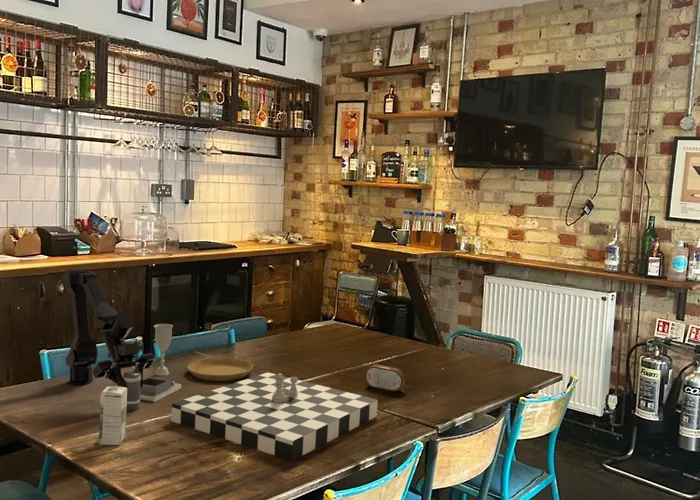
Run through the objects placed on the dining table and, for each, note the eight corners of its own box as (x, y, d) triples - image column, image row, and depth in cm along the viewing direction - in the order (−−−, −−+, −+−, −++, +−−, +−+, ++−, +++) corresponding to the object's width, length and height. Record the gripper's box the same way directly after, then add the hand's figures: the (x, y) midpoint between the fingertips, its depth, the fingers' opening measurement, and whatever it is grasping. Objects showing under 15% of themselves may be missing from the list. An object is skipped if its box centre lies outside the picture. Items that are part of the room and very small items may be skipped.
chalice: (165, 377, 240) (167, 328, 238) (148, 375, 241) (150, 326, 240) (175, 372, 247) (176, 324, 246) (158, 370, 249) (159, 323, 247)
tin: (404, 391, 240) (406, 369, 239) (401, 393, 237) (403, 370, 236) (367, 384, 246) (368, 362, 245) (363, 386, 243) (364, 364, 242)
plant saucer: (174, 376, 242) (174, 368, 242) (211, 362, 265) (211, 354, 264) (230, 387, 233) (230, 378, 233) (264, 371, 256) (264, 363, 255)
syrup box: (104, 437, 182) (105, 385, 181) (126, 437, 183) (127, 386, 181) (98, 445, 176) (99, 392, 175) (120, 445, 177) (122, 393, 176)
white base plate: (125, 396, 216) (125, 384, 216) (153, 383, 232) (153, 372, 231) (154, 401, 213) (154, 389, 213) (181, 388, 228) (181, 377, 228)
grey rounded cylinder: (119, 409, 204) (120, 375, 203) (127, 404, 209) (128, 370, 208) (135, 411, 203) (136, 376, 202) (142, 406, 208) (143, 372, 207)
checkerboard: (291, 462, 174) (294, 408, 172) (171, 422, 197) (172, 374, 196) (376, 417, 212) (379, 372, 210) (267, 388, 235) (268, 348, 234)
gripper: (98, 336, 200) (115, 380, 193) (153, 328, 213) (171, 369, 207) (85, 356, 206) (101, 399, 199) (139, 347, 219) (156, 388, 213)
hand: (134, 388), depth 205 cm, fingers closed on grey rounded cylinder, 5 cm apart
